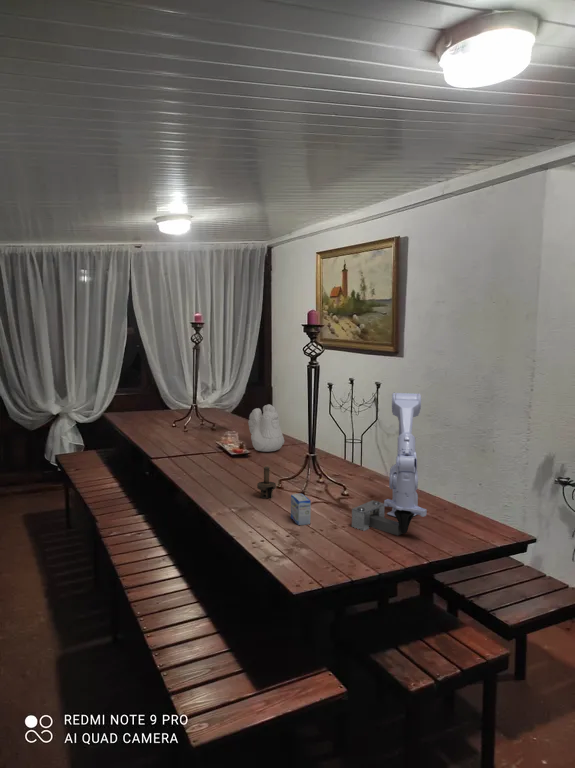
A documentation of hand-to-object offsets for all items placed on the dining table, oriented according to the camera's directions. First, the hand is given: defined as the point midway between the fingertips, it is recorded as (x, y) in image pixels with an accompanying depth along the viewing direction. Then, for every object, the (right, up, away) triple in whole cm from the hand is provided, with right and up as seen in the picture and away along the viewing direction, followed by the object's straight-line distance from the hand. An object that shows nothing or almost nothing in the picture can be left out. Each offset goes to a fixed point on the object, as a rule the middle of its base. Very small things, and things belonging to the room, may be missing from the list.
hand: (404, 532), depth 182 cm
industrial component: (-46, +4, +38) cm, 60 cm away
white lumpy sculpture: (-49, +13, +114) cm, 125 cm away
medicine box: (-33, 0, +12) cm, 35 cm away
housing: (-10, 0, +10) cm, 14 cm away
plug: (-7, 0, +7) cm, 10 cm away
